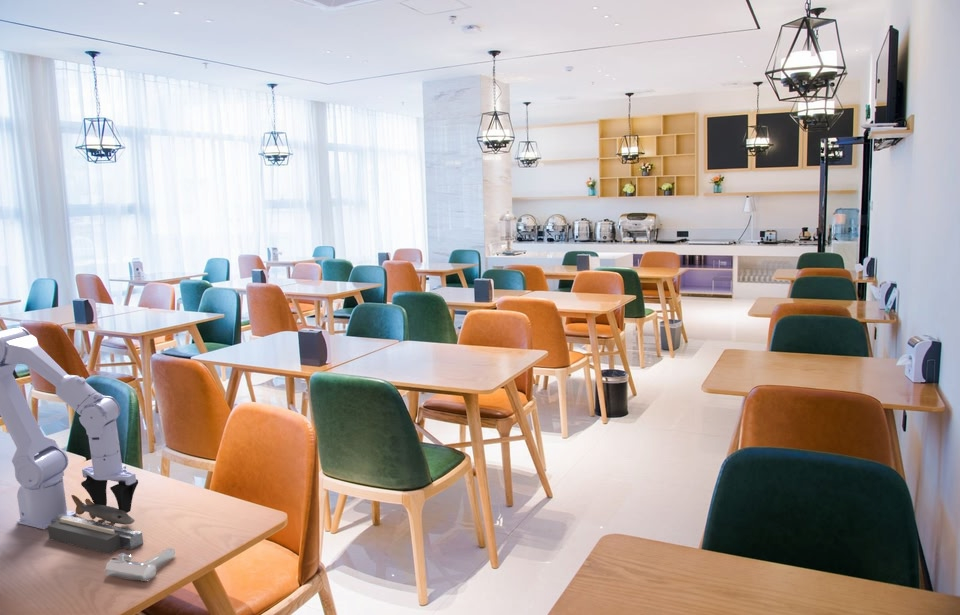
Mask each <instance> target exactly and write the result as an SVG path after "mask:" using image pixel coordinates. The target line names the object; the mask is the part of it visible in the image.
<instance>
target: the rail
mask: <svg viewBox="0 0 960 615" xmlns="http://www.w3.org/2000/svg"><path fill="white" fill-rule="evenodd" d="M60 518H65V519H69V520H73V521H78V522H82V523H86V524H91V525H95V526H100V527H104V528H108V529H113V530H114V531H115V533H117V534H119V538H120V546H121V548H120V549H126V550H129V551H132V550H133V549H136V548H137V547H140V546H141V545H144V540H143V539H144V537H143V532H142V531H138V530H134V529H129V528H125V527H121V526H118V525H114V526H113V525H109V524H108V523H105V522H104V523H100V522H99V521H95V520H90V519H87V518H81V517H77V516H69V515H65V514H64V515H61V514H58V515H56V516H55V519H52V520H51V524H53V523H55V522H57V521H59V520H60Z"/></svg>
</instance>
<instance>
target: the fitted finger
mask: <svg viewBox="0 0 960 615" xmlns="http://www.w3.org/2000/svg"><path fill="white" fill-rule="evenodd" d="M47 533H48V539H49V540H50V541H51V540H52V541H56V542H60V543H63V544H67V545H72V546H76V547H80V548H83V549H87V550H90V551H96V552H99V551H100V553H103V552H104V554H106V555H109V553H110V554H112V553H114V552H115V551H117V550H118V549H122V548H121V546H120V538H119V534H117V533H115V531H114V530H113V529H108V528H104V527H100V526H95V525H91V524H86V523H82V522H78V521H73V520H69V519H65V518H60V520H59V521H57V522H55V523H53V524H50V525H48V528H47Z"/></svg>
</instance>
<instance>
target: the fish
mask: <svg viewBox="0 0 960 615" xmlns="http://www.w3.org/2000/svg"><path fill="white" fill-rule="evenodd" d="M71 499H72V501H73V502H74V504H75V506H76V507H75V512H76V513H77V514H76V515H83V514H84V513H85V512H86V513H88V514H89V517H90V518H91V519H92V520H95V519H96V518H98V522H100V523H104V524H105V522H108V523H107V524H109V525H113V526H115V524H117V525H118V524H119V525H126V526H128V525H131V524H134V523H135V519H134V518H132V516H131V515H129V514H128V513H126V512H125V511H122V510H119V508H118V507H114V506H109V505H107V506H105V505H99V504H94V503H93V501H92V500H91V499H89V498H86V499H84V502H85V503H84V502H82V500H81V499H80V498H79V497H77V496H76V495H74V494H71Z"/></svg>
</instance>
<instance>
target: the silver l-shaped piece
mask: <svg viewBox="0 0 960 615" xmlns="http://www.w3.org/2000/svg"><path fill="white" fill-rule="evenodd" d="M175 550H176V549H174V548H171V547H167V548H166V549H164V550H163V551H161V552H159V553H158V554H156V555H154V556H153V557H151V558H149V559H147V560H145V561H142V562H141V561H134V560H133V556H132V555H131V554H130V555H129V554H126V553H125V552H121V553H119V554H118V555H117V556H118V558H115V557H113V558H111V559H110V560H108V561H107V563H106V565H105V568H104V569H105V574H106V575H107V576H109V577H113V576H114V578H119V577H120V579H125V578H126V579H125V580H131V579H132V580H133V581H137V580H138V582H139V580H141V581H140V582H143V581H145V582H144V583H147V582H146V581H147V580H149V579H150V580H152V579H154V578H155V576H156V573H157V570H158V569H160V568H161V567H162V566H164V565H165V564H167V563H168V562H170V561H171V560H173V559H174V558H175V556H176V551H175ZM173 557H174V558H173ZM172 558H173V559H172ZM169 560H170V561H169ZM166 562H167V563H166ZM163 564H164V565H163ZM159 567H160V568H159ZM151 578H152V579H151ZM132 580H131V581H132ZM150 580H149V581H150Z"/></svg>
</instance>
